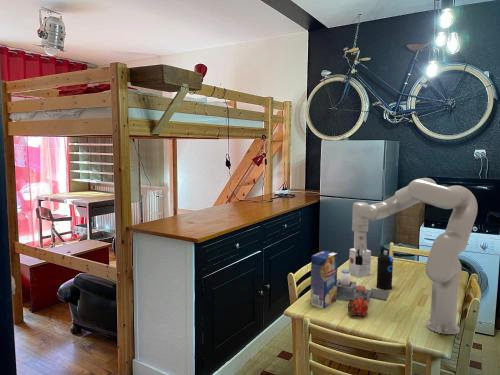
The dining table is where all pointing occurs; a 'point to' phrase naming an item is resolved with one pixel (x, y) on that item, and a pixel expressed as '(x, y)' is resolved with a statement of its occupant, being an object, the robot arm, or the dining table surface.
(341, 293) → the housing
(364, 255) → the supplement box
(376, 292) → the mat
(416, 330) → the dining table surface
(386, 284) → the aerosol can
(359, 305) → the dragon fruit
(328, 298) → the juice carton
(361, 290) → the plunger
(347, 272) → the cylinder
